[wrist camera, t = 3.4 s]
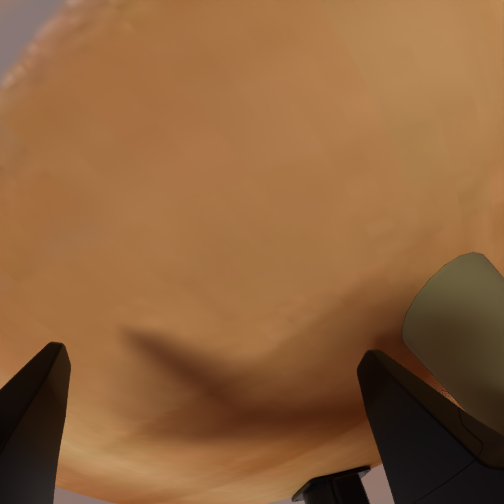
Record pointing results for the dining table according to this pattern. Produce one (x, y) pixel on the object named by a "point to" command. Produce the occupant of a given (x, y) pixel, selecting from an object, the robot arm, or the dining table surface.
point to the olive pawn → (463, 335)
